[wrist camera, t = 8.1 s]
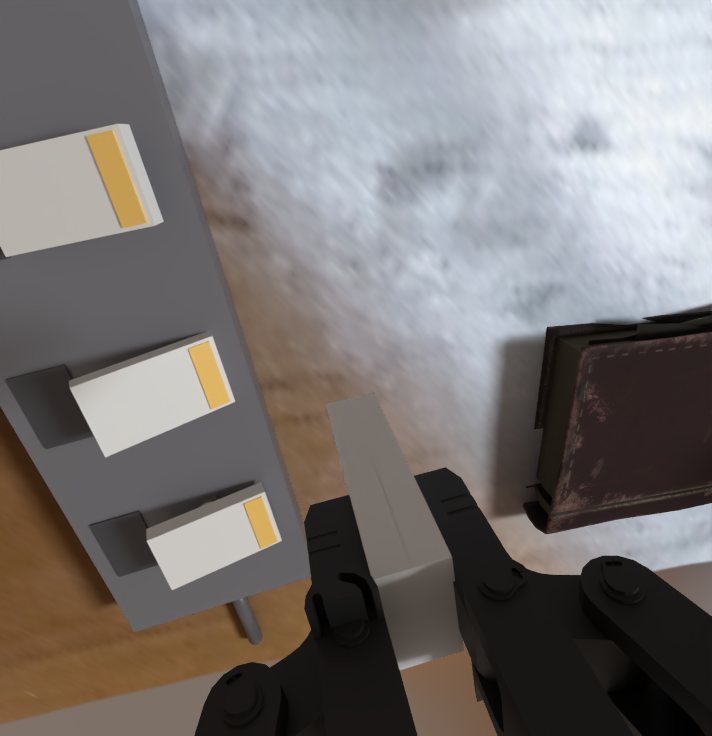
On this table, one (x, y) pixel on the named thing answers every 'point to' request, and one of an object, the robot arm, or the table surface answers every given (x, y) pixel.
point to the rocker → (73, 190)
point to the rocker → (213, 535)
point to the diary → (624, 421)
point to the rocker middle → (152, 392)
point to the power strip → (128, 324)
